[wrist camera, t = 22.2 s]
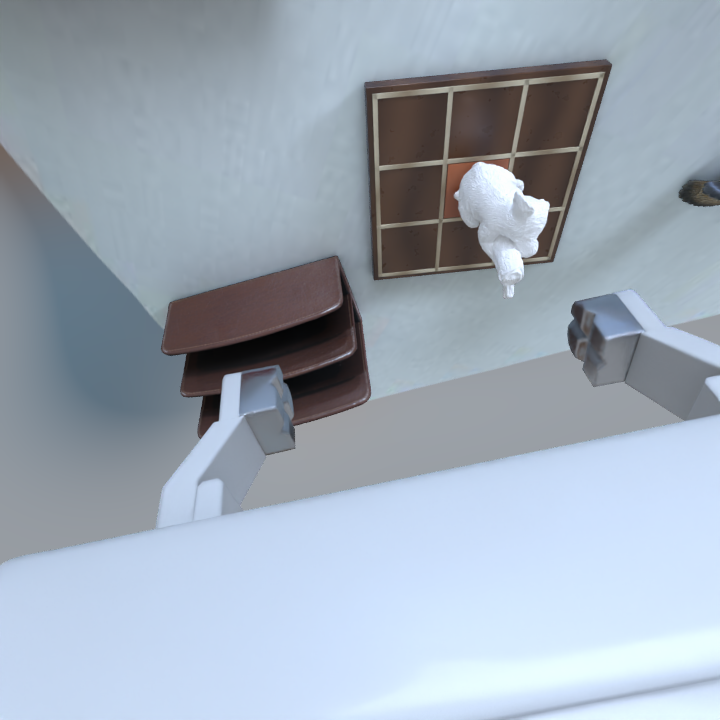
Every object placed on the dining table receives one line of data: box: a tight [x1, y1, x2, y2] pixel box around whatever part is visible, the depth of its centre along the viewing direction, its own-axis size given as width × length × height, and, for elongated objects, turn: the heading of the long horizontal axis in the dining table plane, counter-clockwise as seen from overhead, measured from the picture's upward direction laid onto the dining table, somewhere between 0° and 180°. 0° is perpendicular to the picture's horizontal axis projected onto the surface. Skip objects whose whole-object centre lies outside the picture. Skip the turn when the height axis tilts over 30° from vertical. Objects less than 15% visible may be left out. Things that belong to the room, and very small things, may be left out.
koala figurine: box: [454, 162, 550, 299], centre depth 43 cm, size 8×7×12 cm
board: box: [365, 60, 612, 280], centre depth 48 cm, size 20×20×1 cm
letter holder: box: [161, 256, 371, 439], centre depth 54 cm, size 10×20×14 cm, turn 105°
